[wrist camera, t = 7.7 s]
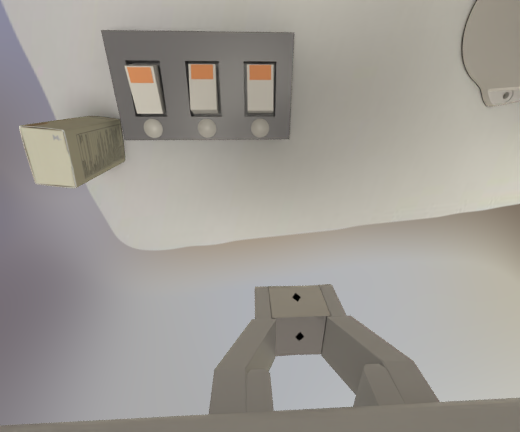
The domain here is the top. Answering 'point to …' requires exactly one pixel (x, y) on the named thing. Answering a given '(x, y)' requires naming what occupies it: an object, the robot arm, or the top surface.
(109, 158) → the skincare box
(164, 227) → the top surface
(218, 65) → the switch panel
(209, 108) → the rocker middle
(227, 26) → the top surface
